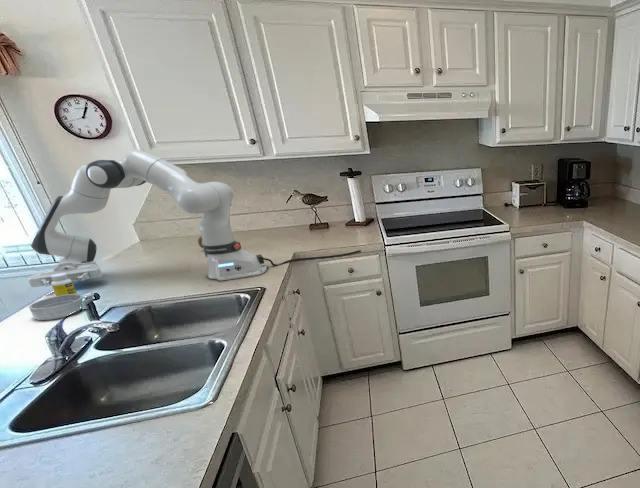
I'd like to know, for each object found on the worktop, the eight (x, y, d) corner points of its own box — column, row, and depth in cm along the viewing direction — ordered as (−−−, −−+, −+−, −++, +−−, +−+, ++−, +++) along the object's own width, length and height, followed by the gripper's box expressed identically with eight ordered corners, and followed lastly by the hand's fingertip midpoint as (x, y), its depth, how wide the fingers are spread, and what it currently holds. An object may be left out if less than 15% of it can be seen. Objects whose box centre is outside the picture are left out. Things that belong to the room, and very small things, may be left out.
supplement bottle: (73, 301, 154) (62, 276, 150) (55, 302, 152) (43, 278, 148) (81, 295, 158) (71, 271, 155) (64, 297, 157) (53, 273, 153)
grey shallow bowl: (95, 303, 151) (90, 292, 150) (75, 317, 140) (70, 305, 138) (49, 308, 147) (44, 296, 146) (24, 323, 136) (18, 311, 134)
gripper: (29, 269, 160) (21, 279, 150) (100, 260, 172) (96, 268, 162) (36, 285, 162) (28, 295, 152) (105, 274, 174) (102, 283, 164)
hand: (64, 281), depth 157 cm, fingers open, 8 cm apart
